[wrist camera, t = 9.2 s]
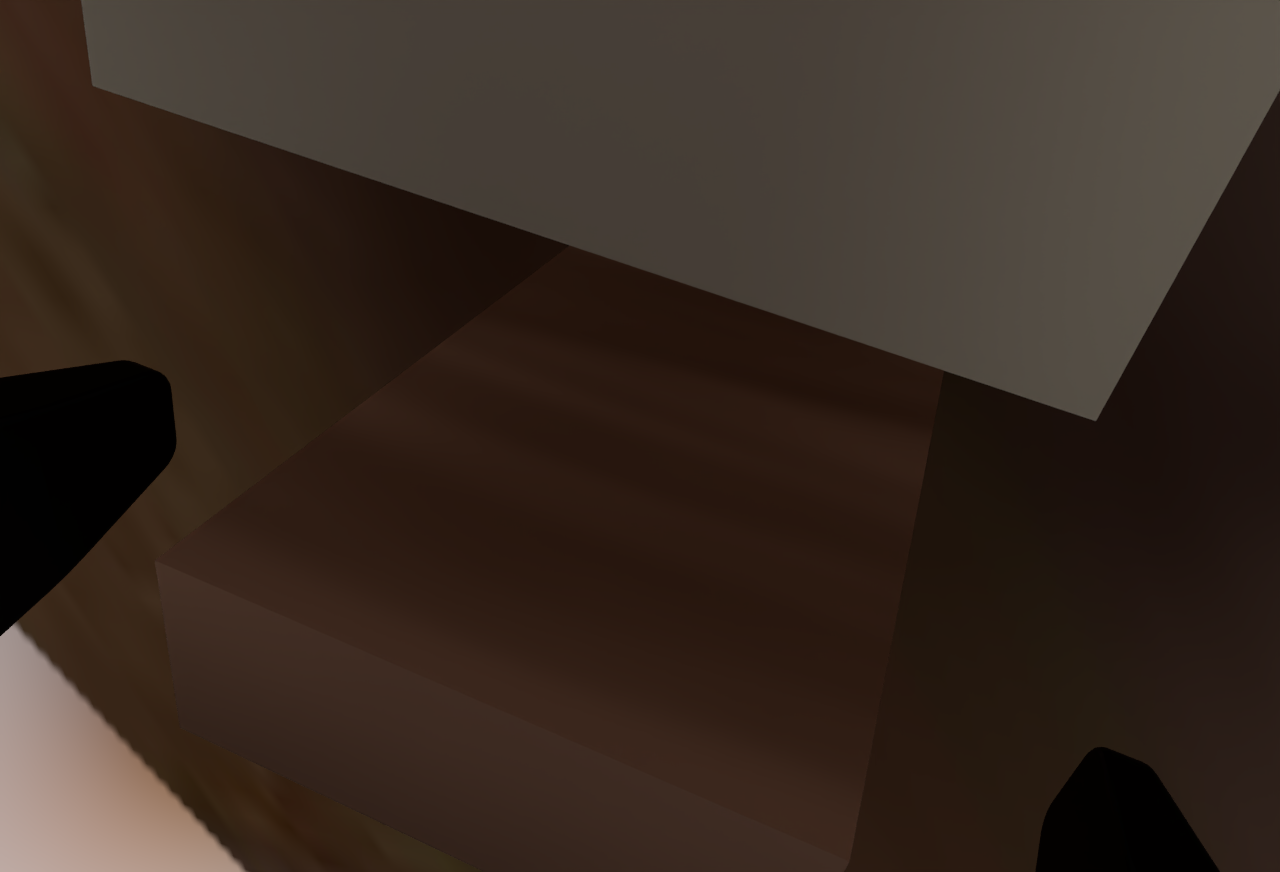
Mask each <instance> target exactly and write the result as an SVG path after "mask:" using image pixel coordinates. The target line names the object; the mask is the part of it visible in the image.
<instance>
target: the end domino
mask: <svg viewBox="0 0 1280 872" xmlns="http://www.w3.org/2000/svg"><path fill="white" fill-rule="evenodd" d="M943 374H944V370H941V369H938V368H935V367H932V366H929V365H926V364H923V363H920V362H917V361H914V360H911V359H908V358H905V357H902V356H899V355H896V354H893V353H890V352H887V351H884V350H881V349H878V348H875V347H872V346H869V345H866V344H863V343H860V342H857V341H854V340H851V339H848V338H845V337H842V336H839V335H836V334H833V333H830V332H827V331H824V330H821V329H818V328H815V327H812V326H809V325H806V324H803V323H800V322H797V321H794V320H792V319H789V318H786V317H783V316H780V315H777V314H774V313H771V312H768V311H765V310H762V309H759V308H756V307H753V306H750V305H747V304H744V303H741V302H738V301H735V300H732V299H729V298H726V297H723V296H720V295H717V294H714V293H711V292H708V291H705V290H702V289H699V288H696V287H693V286H690V285H687V284H684V283H681V282H678V281H675V280H672V279H669V278H666V277H663V276H660V275H657V274H654V273H651V272H648V271H645V270H642V269H639V268H636V267H633V266H630V265H627V264H624V263H621V262H618V261H615V260H612V259H609V258H606V257H603V256H600V255H597V254H594V253H591V252H588V251H585V250H582V249H579V248H576V247H573V246H568V247H567V248H566V249H564V250H563V251H562V252H560V253H559V254H558V255H556V256H555V257H554V258H552V259H551V260H550V261H549V262H547V263H546V264H545V265H543V266H542V267H541V268H539V269H538V270H537V271H535V272H534V273H533V274H531V275H530V276H529V277H527V278H526V279H525V280H524V281H522V282H521V283H520V284H518V285H517V286H516V287H514V288H513V289H512V290H510V291H509V292H508V293H506V294H505V295H504V296H502V297H501V298H500V299H498V300H497V301H496V302H495V303H493V304H492V305H491V306H489V307H488V308H487V309H485V310H484V311H483V312H481V313H480V314H479V315H477V316H476V317H475V318H473V319H472V320H471V321H470V322H468V323H467V324H466V325H464V326H463V327H462V328H460V329H459V330H458V331H456V332H455V333H454V334H452V335H451V336H450V337H448V338H447V339H446V340H444V341H443V342H442V343H441V344H439V345H438V346H437V347H435V348H434V349H433V350H431V351H430V352H429V353H427V354H426V355H425V356H423V357H422V358H421V359H419V360H418V361H417V362H415V363H414V364H413V365H412V366H410V367H409V368H408V369H406V370H405V371H404V372H402V373H401V374H400V375H398V376H397V377H396V378H394V379H393V380H392V381H390V382H389V383H388V384H387V385H385V386H384V387H383V388H381V389H380V390H379V391H377V392H376V393H375V394H373V395H372V396H371V397H369V398H368V399H367V400H365V401H364V402H363V403H361V404H360V405H359V406H358V407H356V408H355V409H354V410H352V411H351V412H350V413H348V414H347V415H346V416H344V417H343V418H342V419H340V420H339V421H338V422H336V423H335V424H334V425H332V426H331V427H330V428H329V429H327V430H326V431H325V432H323V433H322V434H321V435H319V436H318V437H317V438H315V439H314V440H313V441H311V442H310V443H309V444H307V445H306V446H305V447H304V448H302V449H301V450H300V451H298V452H297V453H296V454H294V455H293V456H292V457H290V458H289V459H288V460H286V461H285V462H284V463H282V464H281V465H280V466H278V467H277V468H276V469H275V470H273V471H272V472H271V473H269V474H268V475H267V476H265V477H264V478H263V479H261V480H260V481H259V482H257V483H256V484H255V485H253V486H252V487H251V488H249V489H248V490H247V491H246V492H244V493H243V494H242V495H240V496H239V497H238V498H236V499H235V500H234V501H232V502H231V503H230V504H228V505H227V506H226V507H224V508H223V509H222V510H221V511H219V512H218V513H217V514H215V515H214V516H213V517H211V518H210V519H209V520H207V521H206V522H205V523H203V524H202V525H201V526H199V527H198V528H197V529H195V530H194V531H193V532H192V533H190V534H189V535H188V536H186V537H185V538H184V539H182V540H181V541H180V542H178V543H177V544H176V545H174V546H173V547H172V548H170V549H169V550H168V551H167V552H165V553H164V554H163V555H161V556H160V557H159V558H157V559H156V560H155V565H156V571H157V578H158V585H159V591H160V598H161V605H162V611H163V618H164V625H165V631H166V638H167V645H168V651H169V658H170V665H171V671H172V678H173V685H174V691H175V698H176V705H177V711H178V718H179V725H180V728H182V729H184V730H186V731H188V732H190V733H193V734H195V735H197V736H199V737H201V738H203V739H205V740H207V741H209V742H212V743H214V744H216V745H218V746H220V747H222V748H224V749H226V750H228V751H231V752H233V753H235V754H237V755H239V756H241V757H243V758H245V759H247V760H250V761H252V762H254V763H256V764H258V765H260V766H262V767H264V768H266V769H268V770H271V771H273V772H275V773H277V774H279V775H281V776H283V777H285V778H287V779H290V780H292V781H294V782H296V783H298V784H300V785H302V786H304V787H306V788H309V789H311V790H313V791H315V792H317V793H319V794H321V795H323V796H325V797H328V798H330V799H332V800H334V801H336V802H338V803H340V804H342V805H344V806H347V807H349V808H351V809H353V810H355V811H357V812H359V813H361V814H363V815H366V816H368V817H370V818H372V819H374V820H376V821H378V822H380V823H382V824H385V825H387V826H389V827H391V828H393V829H395V830H397V831H399V832H401V833H404V834H406V835H408V836H410V837H412V838H414V839H416V840H418V841H420V842H423V843H425V844H427V845H429V846H431V847H433V848H435V849H437V850H439V851H442V852H444V853H446V854H448V855H450V856H452V857H454V858H456V859H458V860H461V861H463V862H465V863H467V864H469V865H471V866H473V867H475V868H477V869H480V870H482V871H484V872H844V871H845V869H846V867H847V865H848V863H849V861H850V856H851V851H852V845H853V840H854V835H855V830H856V825H857V819H858V814H859V809H860V804H861V799H862V794H863V788H864V783H865V778H866V773H867V768H868V763H869V757H870V752H871V747H872V742H873V737H874V731H875V726H876V721H877V716H878V711H879V706H880V700H881V695H882V690H883V685H884V680H885V674H886V669H887V664H888V659H889V654H890V649H891V643H892V638H893V633H894V628H895V623H896V618H897V612H898V607H899V602H900V597H901V592H902V586H903V581H904V576H905V571H906V566H907V561H908V555H909V550H910V545H911V540H912V535H913V530H914V524H915V519H916V514H917V509H918V504H919V498H920V493H921V488H922V483H923V478H924V473H925V467H926V462H927V457H928V452H929V447H930V441H931V436H932V431H933V426H934V421H935V416H936V410H937V405H938V400H939V395H940V390H941V385H942V379H943Z"/></svg>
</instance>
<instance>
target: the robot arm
mask: <svg viewBox="0 0 1280 872" xmlns="http://www.w3.org/2000/svg"><path fill="white" fill-rule="evenodd" d="M175 449H176V430H175V420H174V411H173V401H172V392H171V386H170V383H169V381H168V380H167V378H166V376H164V375H163V374H162V373H160V372H158V371H156V370H153V369H151V368H148V367H146V366H143V365H141V364H138V363H136V362H132V361H126V360H121V361H113V362H106V363H99V364H92V365H85V366H78V367H71V368H64V369H57V370H50V371H44V372H37V373H30V374H23V375H16V376H9V377H2V378H0V636H1V635H2V634H3V633H4V632H5V631H7V630H8V629H9V628H10V627H11V626H12V625H13V624H14V623H15V622H17V621H18V620H19V619H20V618H21V617H22V616H23V615H24V614H25V613H26V612H28V611H29V610H30V609H31V608H32V607H33V606H34V605H35V604H36V603H38V602H39V601H40V600H41V599H42V598H43V597H44V596H45V595H46V594H47V593H48V592H50V591H51V590H52V589H53V588H54V587H55V586H56V585H57V584H58V583H59V582H60V581H61V580H62V579H63V578H64V577H65V576H66V575H67V574H68V573H69V572H70V571H71V570H72V569H73V568H74V567H75V566H76V565H77V564H78V563H79V562H80V561H81V560H82V559H83V558H84V557H85V555H86V554H87V553H88V552H89V551H90V550H91V549H92V548H93V547H94V546H95V544H96V543H97V542H98V541H99V540H100V539H101V538H102V537H103V536H104V535H105V533H106V532H107V531H108V530H109V529H110V528H111V527H112V526H113V525H114V524H115V523H116V521H117V520H118V519H119V518H120V517H121V516H122V515H123V514H124V513H125V512H126V510H127V509H128V508H129V507H130V506H131V505H132V504H133V503H134V502H135V501H136V499H137V498H138V497H139V496H140V495H141V494H142V493H143V492H144V491H145V490H146V489H147V487H148V486H149V485H150V484H151V483H152V482H153V481H154V480H155V479H156V478H157V476H158V475H159V474H160V473H161V472H162V471H163V470H164V469H165V468H166V466H167V465H168V464H169V462H170V461H171V459H172V457H173V455H174V452H175ZM1036 872H1220V871H1219V869H1218V868H1217V866H1216V865H1215V863H1214V862H1213V860H1212V859H1211V857H1210V856H1209V854H1208V852H1207V851H1206V849H1205V848H1204V846H1203V845H1202V843H1201V842H1200V840H1199V839H1198V837H1197V836H1196V834H1195V832H1194V831H1193V829H1192V828H1191V826H1190V825H1189V823H1188V822H1187V820H1186V819H1185V817H1184V815H1183V814H1182V812H1181V811H1180V809H1179V808H1178V806H1177V805H1176V803H1175V802H1174V800H1173V799H1172V797H1171V795H1170V794H1169V792H1168V791H1167V789H1166V788H1165V786H1164V785H1163V783H1162V782H1161V780H1160V778H1159V777H1158V775H1157V774H1156V773H1155V772H1154V770H1153V769H1152V768H1151V767H1150V766H1148V765H1147V764H1145V763H1143V762H1141V761H1139V760H1136V759H1134V758H1131V757H1129V756H1126V755H1124V754H1121V753H1119V752H1116V751H1113V750H1111V749H1108V748H1105V747H1097V748H1094V749H1093V750H1091V751H1090V752H1089V753H1088V754H1087V755H1086V756H1085V757H1084V759H1083V760H1082V761H1081V763H1080V764H1079V766H1078V767H1077V768H1076V770H1075V771H1074V773H1073V774H1072V775H1071V777H1070V778H1069V779H1068V781H1067V782H1066V784H1065V785H1064V786H1063V788H1062V789H1061V791H1060V792H1059V793H1058V795H1057V796H1056V798H1055V799H1054V800H1053V802H1052V803H1051V805H1050V807H1049V809H1048V811H1047V813H1046V816H1045V819H1044V822H1043V826H1042V830H1041V836H1040V843H1039V851H1038V858H1037V865H1036Z"/></svg>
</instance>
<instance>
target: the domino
mask: <svg viewBox="0 0 1280 872" xmlns="http://www.w3.org/2000/svg"><path fill="white" fill-rule="evenodd" d="M81 2H82V10H83V18H84V25H85V33H86V40H87V48H88V55H89V63H90V70H91V78H92V86H95V87H98V88H101V89H104V90H107V91H110V92H113V93H116V94H118V95H121V96H124V97H127V98H130V99H133V100H136V101H139V102H142V103H145V104H148V105H151V106H154V107H157V108H160V109H163V110H166V111H169V112H172V113H175V114H178V115H181V116H184V117H187V118H190V119H193V120H196V121H199V122H202V123H205V124H208V125H211V126H214V127H217V128H220V129H223V130H226V131H229V132H232V133H235V134H238V135H241V136H244V137H247V138H250V139H253V140H256V141H259V142H262V143H265V144H268V145H271V146H274V147H277V148H280V149H283V150H286V151H289V152H292V153H295V154H298V155H301V156H304V157H307V158H310V159H313V160H316V161H319V162H322V163H325V164H328V165H331V166H334V167H337V168H340V169H343V170H346V171H349V172H352V173H355V174H358V175H361V176H364V177H367V178H370V179H373V180H376V181H379V182H382V183H385V184H388V185H391V186H394V187H397V188H400V189H403V190H406V191H409V192H412V193H415V194H418V195H421V196H424V197H427V198H430V199H433V200H436V201H439V202H442V203H445V204H448V205H451V206H454V207H456V208H459V209H462V210H465V211H468V212H471V213H474V214H477V215H480V216H483V217H486V218H489V219H492V220H495V221H498V222H501V223H504V224H507V225H510V226H513V227H516V228H519V229H522V230H525V231H528V232H531V233H534V234H537V235H540V236H543V237H546V238H549V239H552V240H555V241H558V242H561V243H564V244H567V245H570V246H573V247H576V248H579V249H582V250H585V251H588V252H591V253H594V254H597V255H600V256H603V257H606V258H609V259H612V260H615V261H618V262H621V263H624V264H627V265H630V266H633V267H636V268H639V269H642V270H645V271H648V272H651V273H654V274H657V275H660V276H663V277H666V278H669V279H672V280H675V281H678V282H681V283H684V284H687V285H690V286H693V287H696V288H699V289H702V290H705V291H708V292H711V293H714V294H717V295H720V296H723V297H726V298H729V299H732V300H735V301H738V302H741V303H744V304H747V305H750V306H753V307H756V308H759V309H762V310H765V311H768V312H771V313H774V314H777V315H780V316H783V317H786V318H789V319H792V320H794V321H797V322H800V323H803V324H806V325H809V326H812V327H815V328H818V329H821V330H824V331H827V332H830V333H833V334H836V335H839V336H842V337H845V338H848V339H851V340H854V341H857V342H860V343H863V344H866V345H869V346H872V347H875V348H878V349H881V350H884V351H887V352H890V353H893V354H896V355H899V356H902V357H905V358H908V359H911V360H914V361H917V362H920V363H923V364H926V365H929V366H932V367H935V368H938V369H941V370H944V371H947V372H950V373H953V374H956V375H959V376H962V377H965V378H968V379H971V380H974V381H977V382H980V383H983V384H986V385H989V386H992V387H995V388H998V389H1001V390H1004V391H1007V392H1010V393H1013V394H1016V395H1019V396H1022V397H1025V398H1028V399H1031V400H1034V401H1037V402H1040V403H1043V404H1046V405H1049V406H1052V407H1055V408H1058V409H1061V410H1064V411H1067V412H1070V413H1073V414H1076V415H1079V416H1082V417H1085V418H1088V419H1091V420H1094V421H1096V420H1097V418H1098V416H1099V415H1100V413H1101V411H1102V409H1103V407H1104V406H1105V404H1106V402H1107V400H1108V398H1109V397H1110V395H1111V393H1112V391H1113V389H1114V388H1115V386H1116V384H1117V382H1118V380H1119V379H1120V377H1121V375H1122V373H1123V371H1124V370H1125V368H1126V366H1127V364H1128V362H1129V361H1130V359H1131V357H1132V355H1133V353H1134V352H1135V350H1136V348H1137V346H1138V344H1139V343H1140V341H1141V339H1142V337H1143V335H1144V334H1145V332H1146V330H1147V328H1148V326H1149V325H1150V323H1151V321H1152V319H1153V317H1154V316H1155V314H1156V312H1157V310H1158V308H1159V307H1160V305H1161V303H1162V301H1163V299H1164V298H1165V296H1166V294H1167V292H1168V290H1169V289H1170V287H1171V285H1172V283H1173V281H1174V280H1175V278H1176V276H1177V274H1178V272H1179V271H1180V269H1181V267H1182V265H1183V263H1184V262H1185V260H1186V258H1187V256H1188V254H1189V253H1190V251H1191V249H1192V247H1193V245H1194V244H1195V242H1196V240H1197V238H1198V236H1199V235H1200V233H1201V231H1202V229H1203V227H1204V226H1205V224H1206V222H1207V220H1208V218H1209V217H1210V215H1211V213H1212V211H1213V209H1214V208H1215V206H1216V204H1217V202H1218V200H1219V199H1220V197H1221V195H1222V193H1223V191H1224V190H1225V188H1226V186H1227V184H1228V182H1229V181H1230V179H1231V177H1232V175H1233V173H1234V172H1235V170H1236V168H1237V166H1238V164H1239V163H1240V161H1241V159H1242V157H1243V155H1244V154H1245V152H1246V150H1247V148H1248V146H1249V145H1250V143H1251V141H1252V139H1253V137H1254V136H1255V134H1256V132H1257V130H1258V128H1259V127H1260V125H1261V123H1262V121H1263V119H1264V118H1265V116H1266V114H1267V112H1268V110H1269V109H1270V107H1271V105H1272V103H1273V101H1274V100H1275V98H1276V96H1277V94H1278V92H1279V91H1280V0H81Z"/></svg>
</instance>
